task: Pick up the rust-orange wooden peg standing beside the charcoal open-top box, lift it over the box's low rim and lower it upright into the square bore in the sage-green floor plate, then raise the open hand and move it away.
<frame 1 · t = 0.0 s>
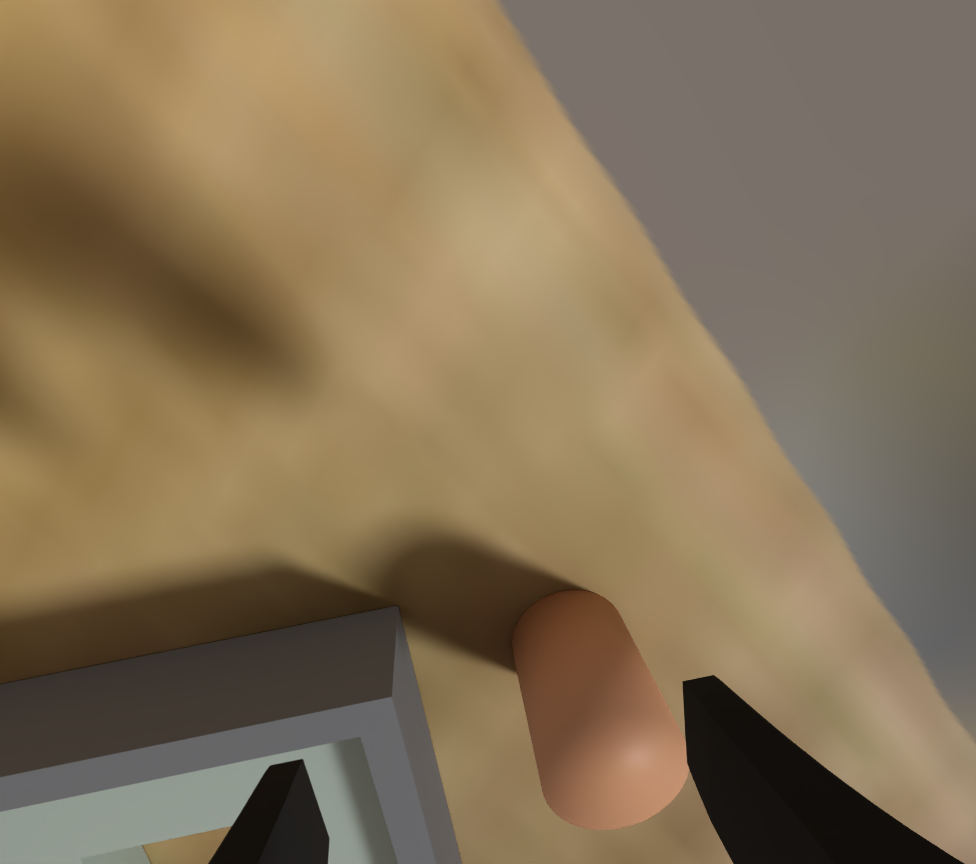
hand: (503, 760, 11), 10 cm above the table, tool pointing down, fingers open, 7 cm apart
peg: (568, 639, 23), on the table
box: (224, 834, 24), on the table
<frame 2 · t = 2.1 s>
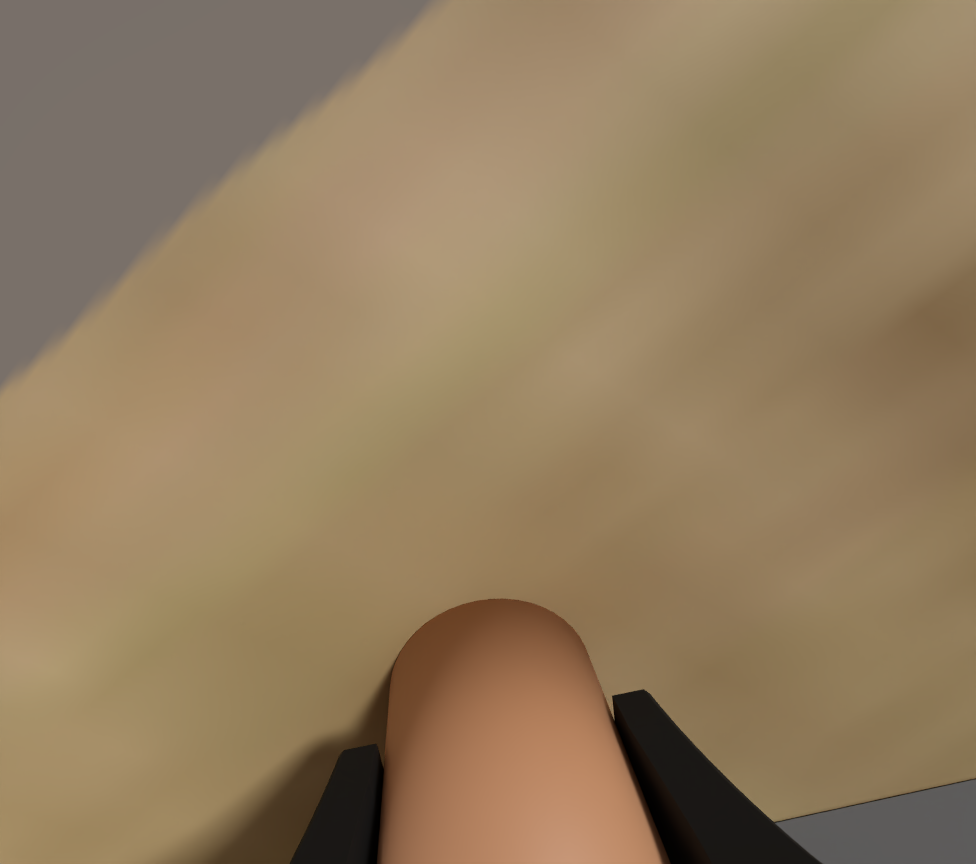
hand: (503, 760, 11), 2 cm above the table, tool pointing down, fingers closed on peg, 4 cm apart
peg: (492, 685, 13), on the table, touching gripper
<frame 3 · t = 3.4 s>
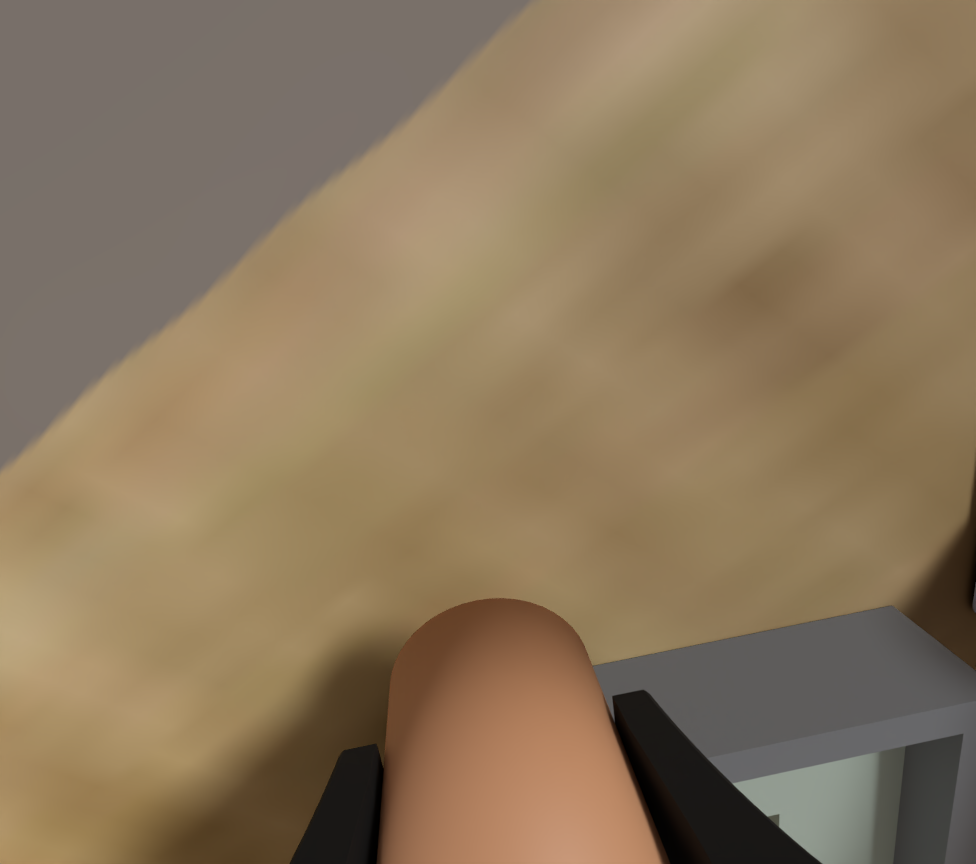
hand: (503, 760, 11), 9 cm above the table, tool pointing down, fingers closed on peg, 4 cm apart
peg: (491, 685, 13), point 7 cm above the table, touching gripper
box: (669, 830, 24), on the table
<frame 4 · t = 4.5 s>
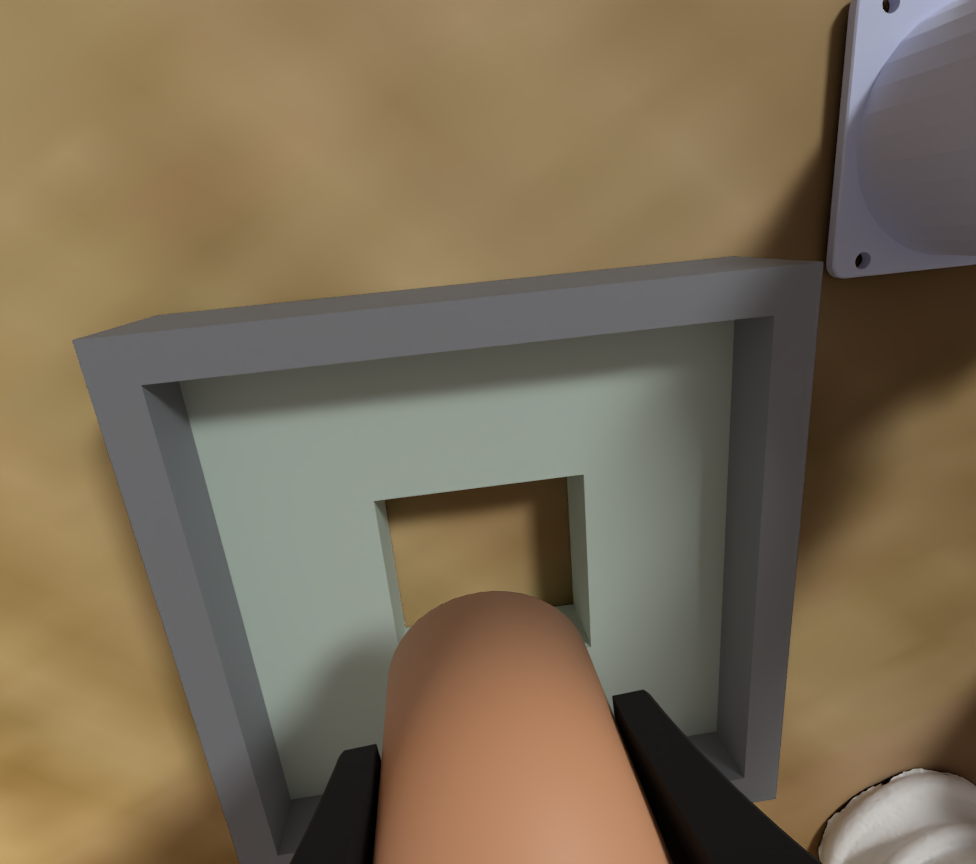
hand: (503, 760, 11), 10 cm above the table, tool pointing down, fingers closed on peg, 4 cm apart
cherub figurine: (866, 821, 28), on the table
peg: (490, 679, 13), point 8 cm above the table, touching gripper
box: (482, 540, 21), on the table
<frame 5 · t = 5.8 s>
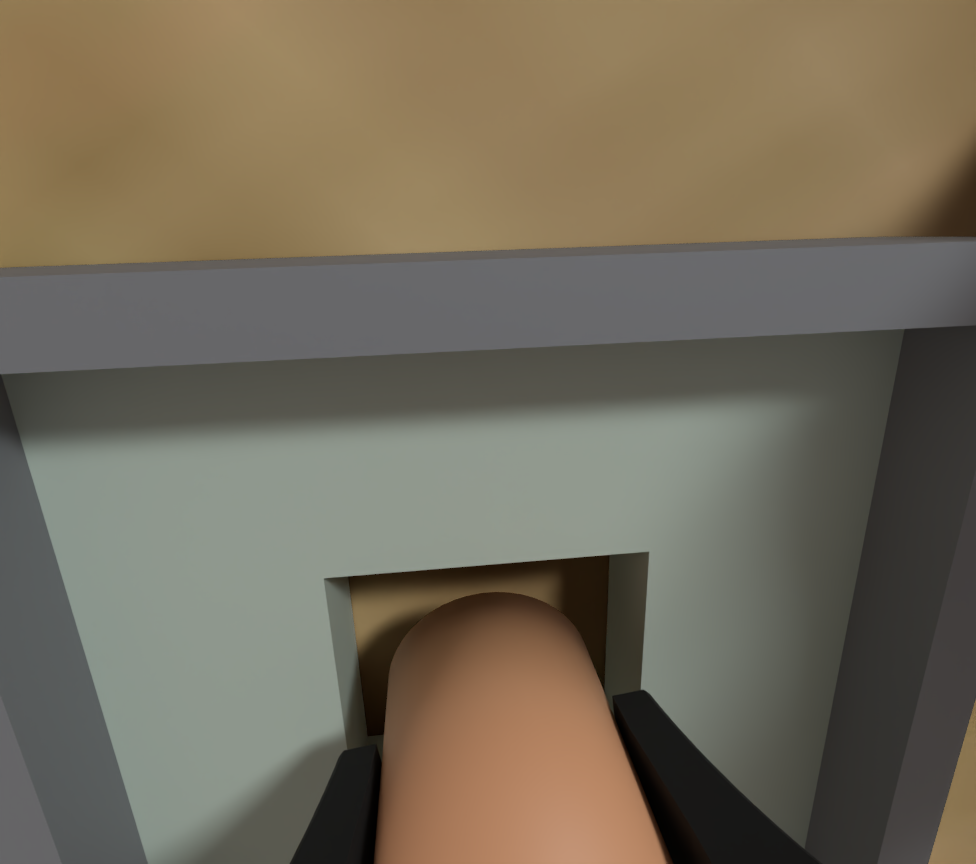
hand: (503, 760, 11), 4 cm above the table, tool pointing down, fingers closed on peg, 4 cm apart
peg: (490, 680, 13), point 2 cm above the table, touching gripper
box: (483, 623, 15), on the table
when the fingers open (3 cm above the table, at t = 6.9 s): peg drops 1 cm, resting in box.
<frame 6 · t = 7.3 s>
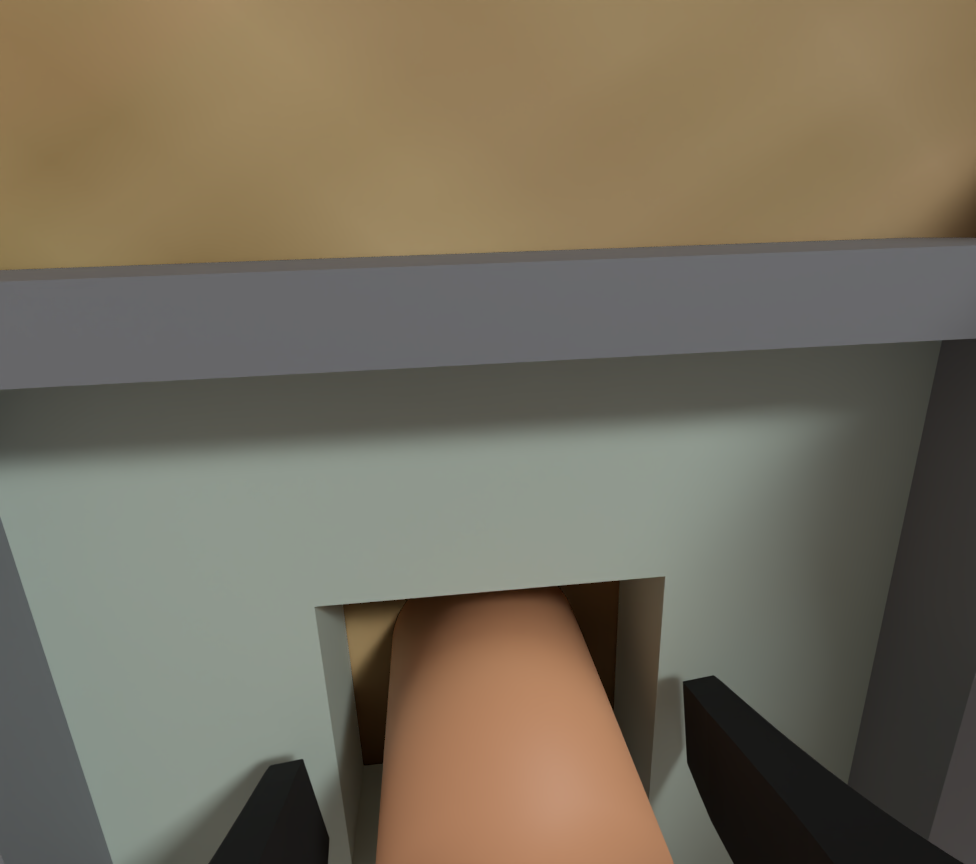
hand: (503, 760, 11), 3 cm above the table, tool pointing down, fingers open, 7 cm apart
peg: (485, 641, 14), resting in box
box: (486, 647, 14), on the table
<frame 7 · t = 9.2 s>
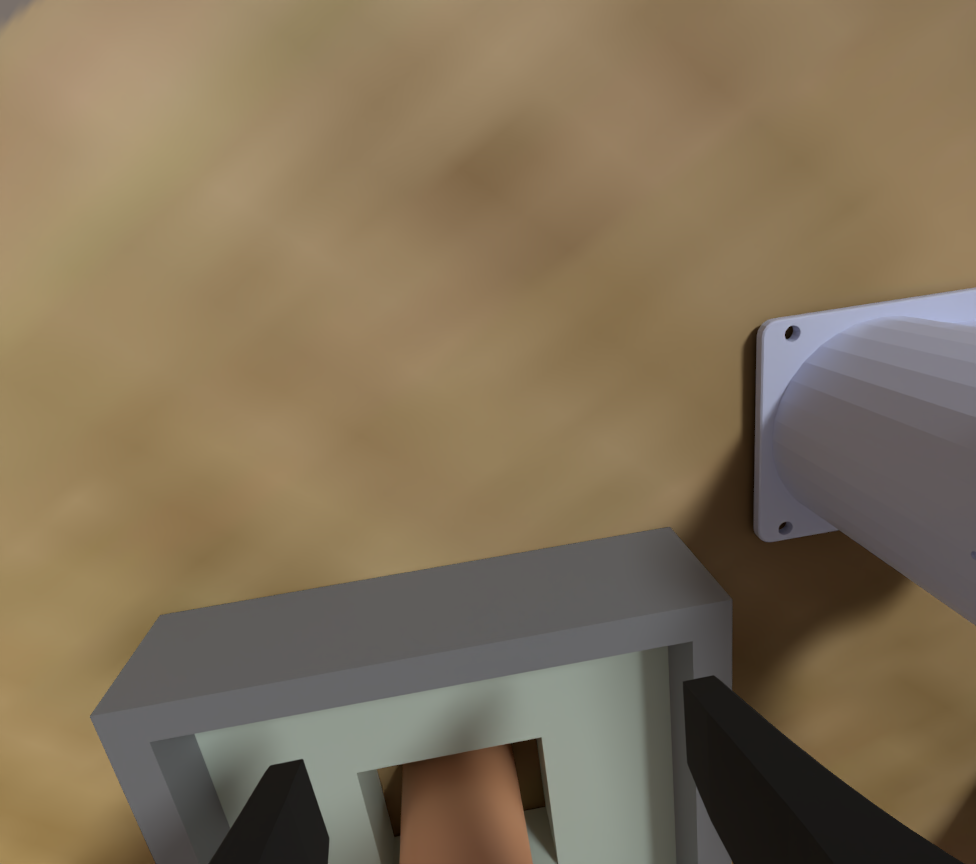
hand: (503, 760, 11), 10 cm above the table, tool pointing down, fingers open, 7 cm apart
peg: (458, 760, 24), resting in box
box: (459, 763, 24), on the table
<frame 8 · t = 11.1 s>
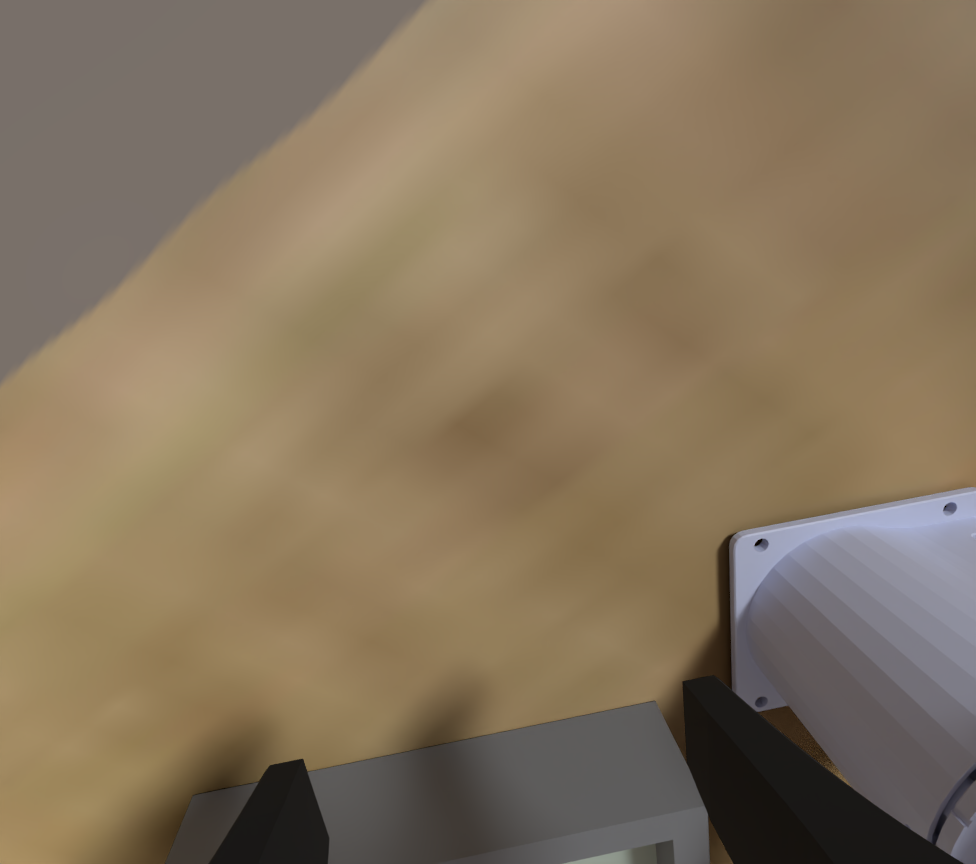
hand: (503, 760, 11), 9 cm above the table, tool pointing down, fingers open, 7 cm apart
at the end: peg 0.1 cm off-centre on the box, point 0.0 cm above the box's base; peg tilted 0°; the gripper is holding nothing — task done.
